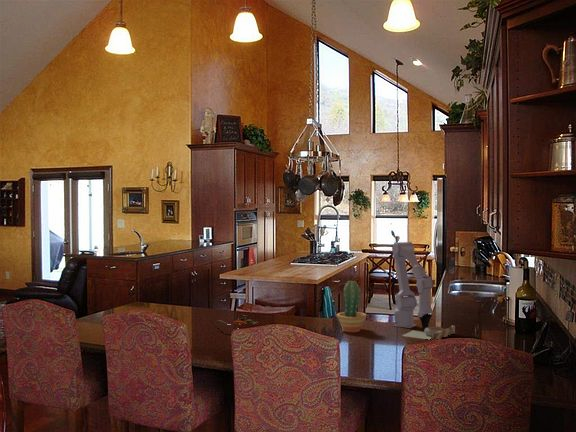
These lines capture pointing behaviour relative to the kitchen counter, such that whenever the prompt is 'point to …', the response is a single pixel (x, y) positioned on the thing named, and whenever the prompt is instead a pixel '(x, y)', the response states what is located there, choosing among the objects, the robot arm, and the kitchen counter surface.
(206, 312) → the kitchen counter surface
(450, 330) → the gate
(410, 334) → the mat
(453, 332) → the gate post
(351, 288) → the potted cactus
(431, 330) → the donut
